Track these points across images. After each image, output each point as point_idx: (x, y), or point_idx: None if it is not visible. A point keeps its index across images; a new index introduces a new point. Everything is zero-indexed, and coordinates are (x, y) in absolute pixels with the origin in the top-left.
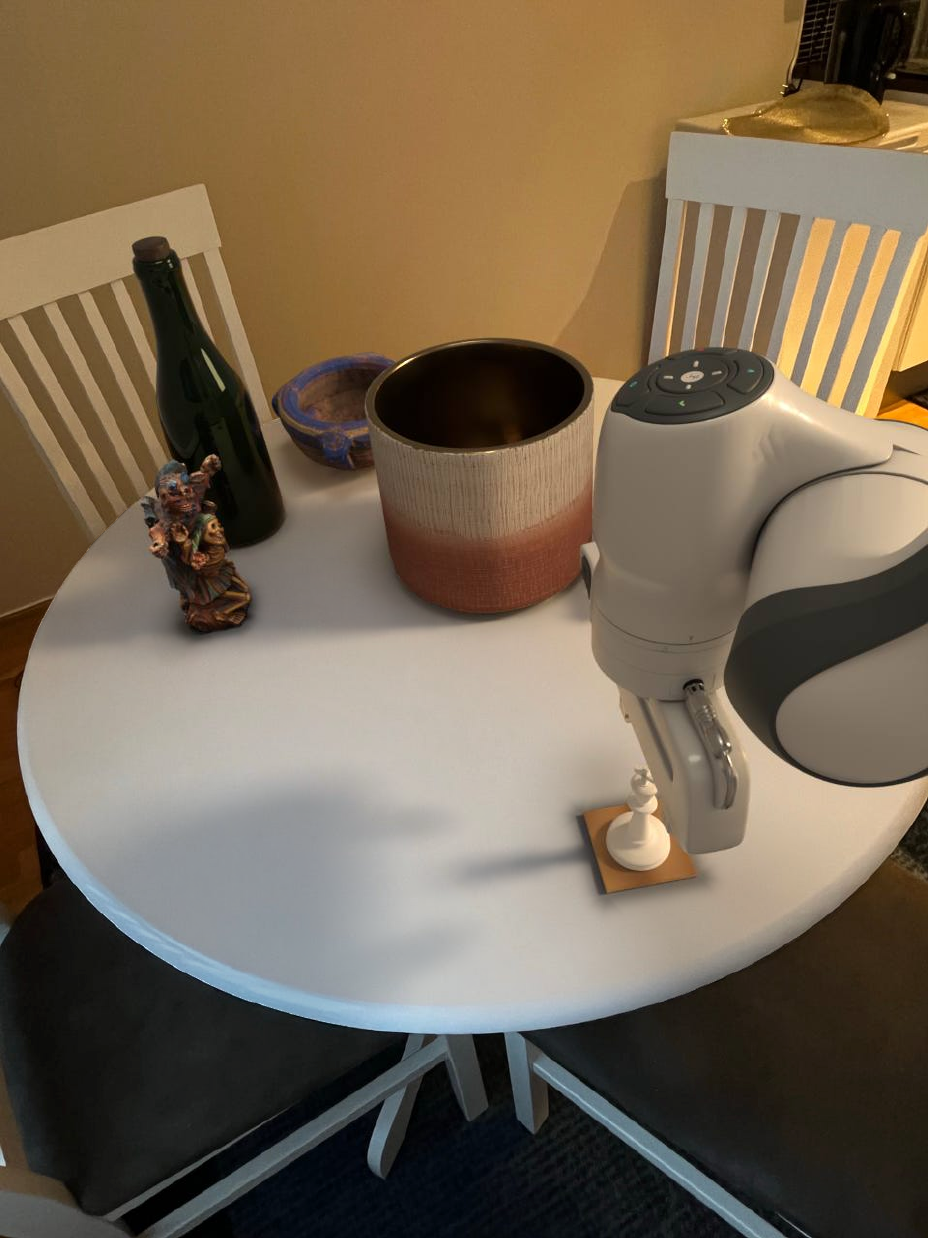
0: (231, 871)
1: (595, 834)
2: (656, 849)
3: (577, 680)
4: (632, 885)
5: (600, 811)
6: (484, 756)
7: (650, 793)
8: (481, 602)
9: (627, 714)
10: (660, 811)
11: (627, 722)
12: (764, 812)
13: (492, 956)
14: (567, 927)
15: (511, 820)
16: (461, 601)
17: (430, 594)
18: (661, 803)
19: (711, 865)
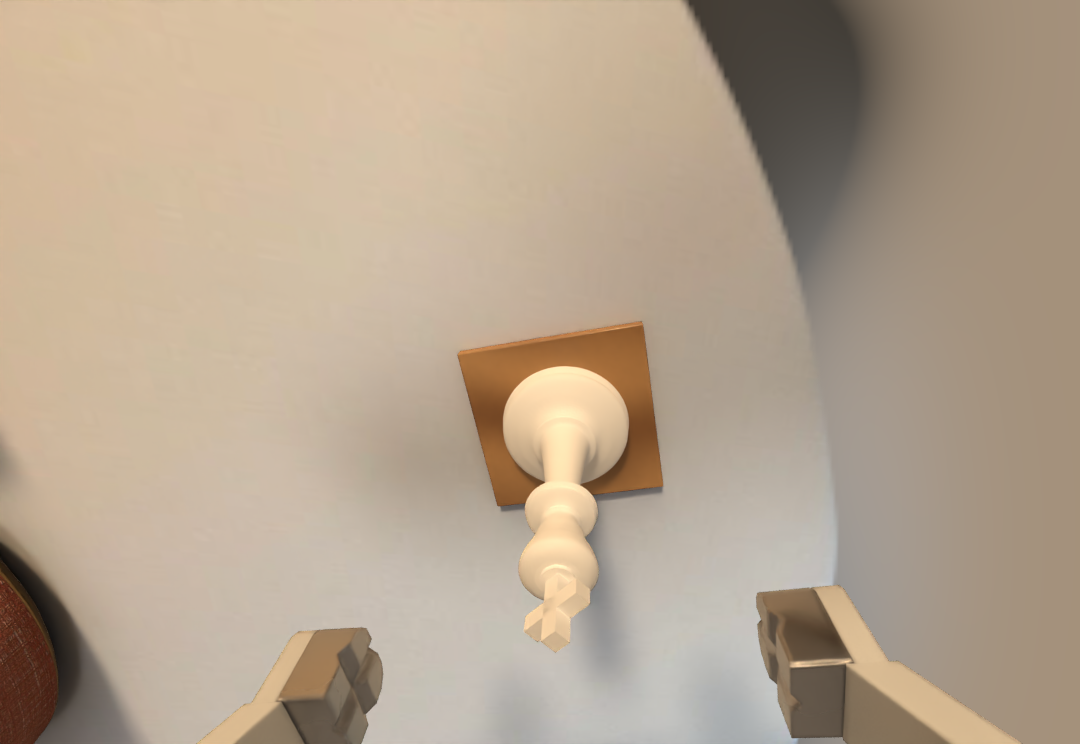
0: None
1: None
2: (598, 408)
3: (177, 480)
4: (656, 444)
5: (496, 479)
6: (384, 632)
7: (595, 568)
8: (20, 671)
9: (362, 708)
10: (769, 677)
11: (382, 675)
12: (484, 135)
13: (748, 638)
14: (716, 542)
15: (511, 603)
16: (31, 699)
17: (32, 738)
18: (790, 731)
19: (617, 285)
